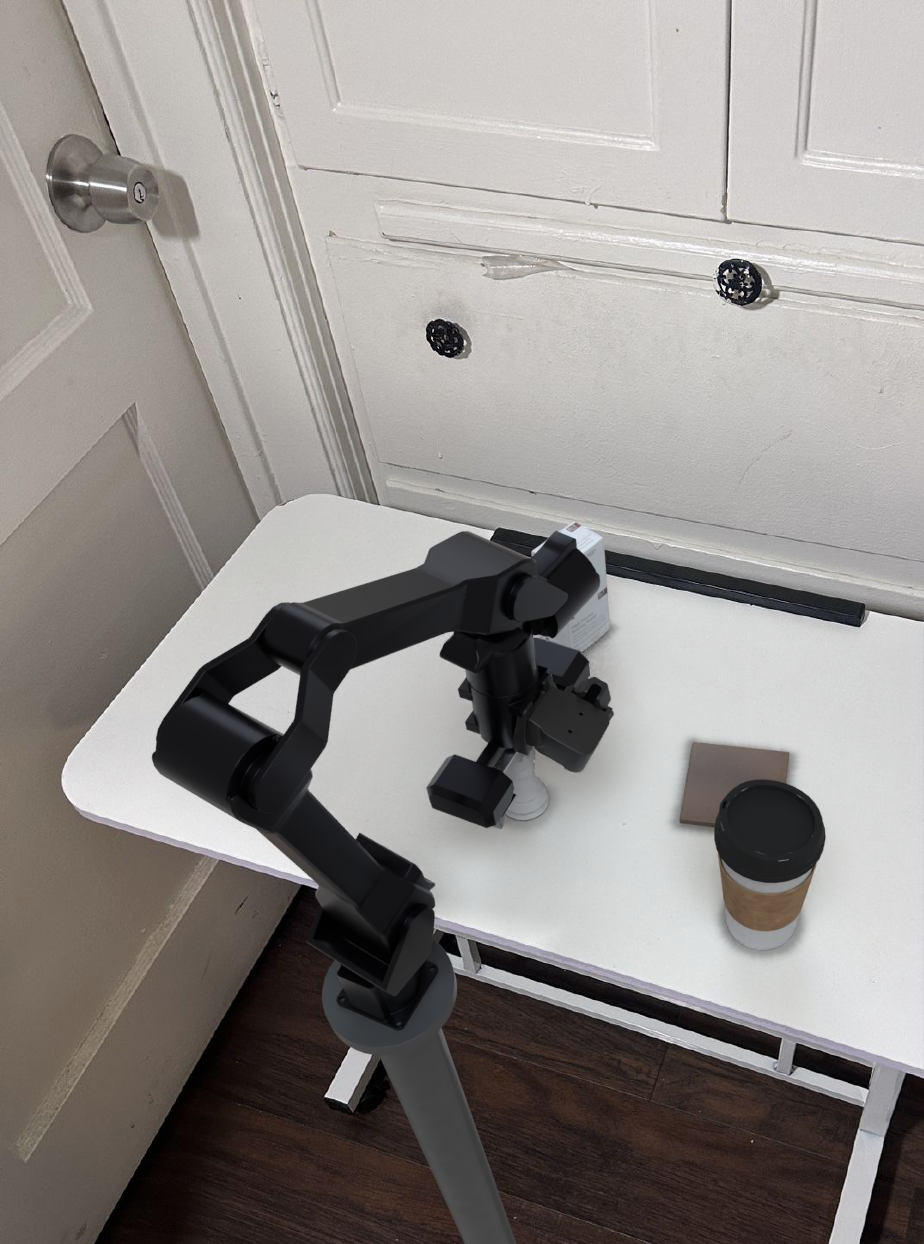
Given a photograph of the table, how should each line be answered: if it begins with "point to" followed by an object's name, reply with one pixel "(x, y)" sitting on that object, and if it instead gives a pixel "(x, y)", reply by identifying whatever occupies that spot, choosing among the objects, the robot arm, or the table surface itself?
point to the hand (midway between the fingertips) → (521, 787)
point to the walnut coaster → (724, 777)
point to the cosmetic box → (596, 610)
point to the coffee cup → (766, 859)
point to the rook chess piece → (526, 788)
